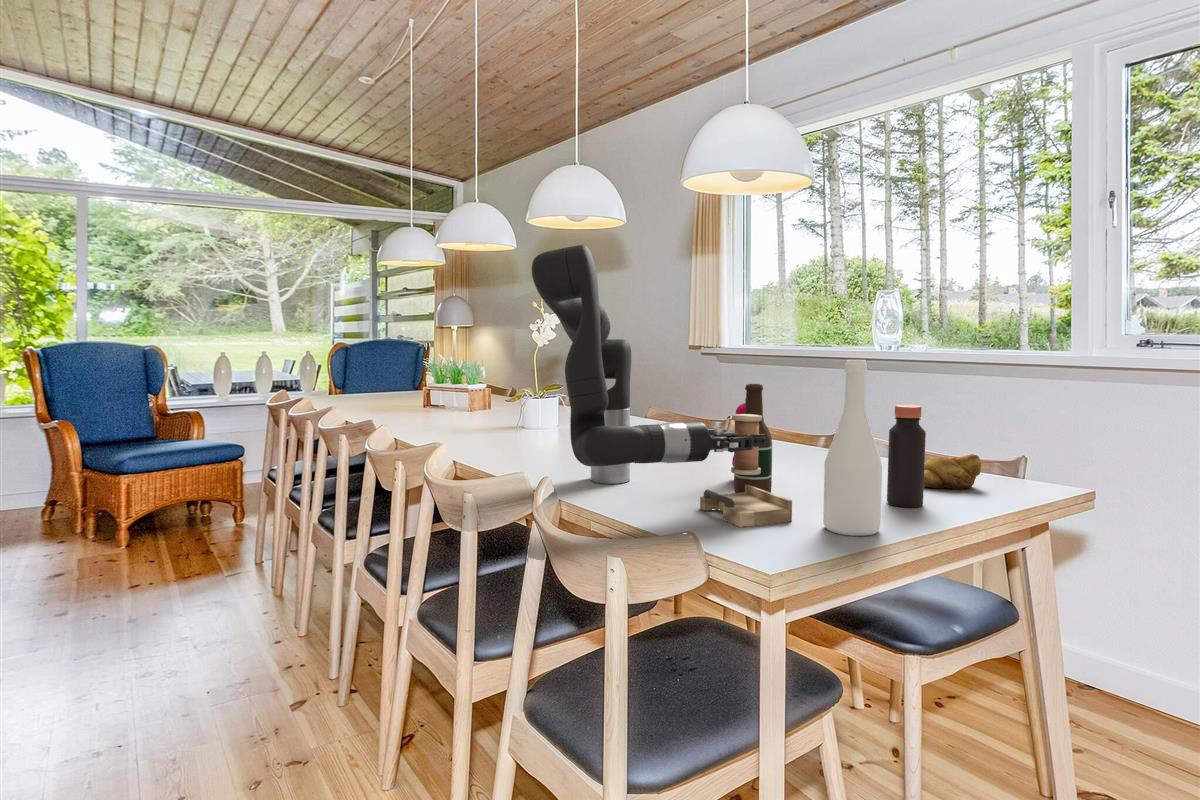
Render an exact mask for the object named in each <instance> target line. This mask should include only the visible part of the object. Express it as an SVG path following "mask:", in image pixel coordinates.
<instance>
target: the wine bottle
mask: <svg viewBox="0 0 1200 800" xmlns="http://www.w3.org/2000/svg"><path fill="white" fill-rule="evenodd" d="M844 373H845V386H844V389H845V390H844V391H845V392H844V406H843V410H842V414H841V416H840V419H839V422H838V424H837V428H836V431H835V433H834V435H833V439H832V440H831V444H830V446H829V448H828V451H827V453H826V457H825V460H824V472H823V473H824V474H823V475H824V476H823V477H824V479H823V481H824V482H823V484H824V485H823V512H822V513H823V518H822V519H823V526H824V527H825V528H826V530H828V531H830V532H832V533H834V534H835V533H836V534H838V535H844V536H852V537H854V536H855V537H864V536H865V537H866V536H872V535H875V534H876V533H878V531H880V528H881V518H882V517H881V515H882V514H881V512H882V485H883V483H882V482H883V481H882V480H883V463H882V459H881V455H880V451H879V448H878V446H877V443H876V439H875V436H874V434H873V431H872V430H873V429H872V427H871V424H870V420H869V418H868V413H867V409H866V374H867V373H868V364H867V361H866V359H846V363H844Z"/></svg>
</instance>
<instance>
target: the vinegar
mask: <svg viewBox="0 0 1200 800" xmlns="http://www.w3.org/2000/svg"><path fill="white" fill-rule="evenodd" d="M921 417H922V406H921V405H915V404H913V405H912V404H910V405H909V404H897V405H894V419H895V420H896V421H895V424H894V425H893V426H892V427H891V428H890V429H889V431H888V451H887V452H888V453H887V455H888V457H887V484H886V485H887V486H886V502H887V504H889V505H891V506H893V507H899V508H906V507H907V508H908V509H910V508H912V509H914V508H920V507H922V506H923V504H924V488H925V486H924V465H925V463H926V462H925V459H926V435H927V434H926V431H925V429H924V428H923V427H922V426H921V425H920V421H921V420H922V419H921ZM907 508H906V509H907Z"/></svg>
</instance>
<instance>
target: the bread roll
mask: <svg viewBox="0 0 1200 800" xmlns="http://www.w3.org/2000/svg"><path fill="white" fill-rule="evenodd" d="M981 470H982V462H981V458H980V456H979V455H977V454H973V453H972V454H967V455H962V456H959V457H955V456H948V457H945V456H944V457H943V456H934V457H930V458H929V459H928V460H927V461H926V462H925V465H924V487H928V488H932V489H944V488H947V489H950V488H952V489H953V490H965V489H964V488H967V489H970V488H972V487H973V486H974V485H975V481H976V479H977V477H978V476H979V475H981ZM952 489H951V490H952Z"/></svg>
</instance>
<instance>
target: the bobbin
mask: <svg viewBox="0 0 1200 800" xmlns="http://www.w3.org/2000/svg"><path fill="white" fill-rule="evenodd" d="M731 420H732V421H734V432H737V433H738V434H739V435H746V434H749V435H756V434H759V421H762V416H761V415H752V414H736V413H735V414H732V416H731ZM758 451H759V446H757V447H753V449H752V450H744V451H736V452H733V456H734V467H733V466H731V468H730V469H731V470H730V471H731V473H732V474H733V475H734V474H740V475H757V474H760V473H761V468H759V467H758Z"/></svg>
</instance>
